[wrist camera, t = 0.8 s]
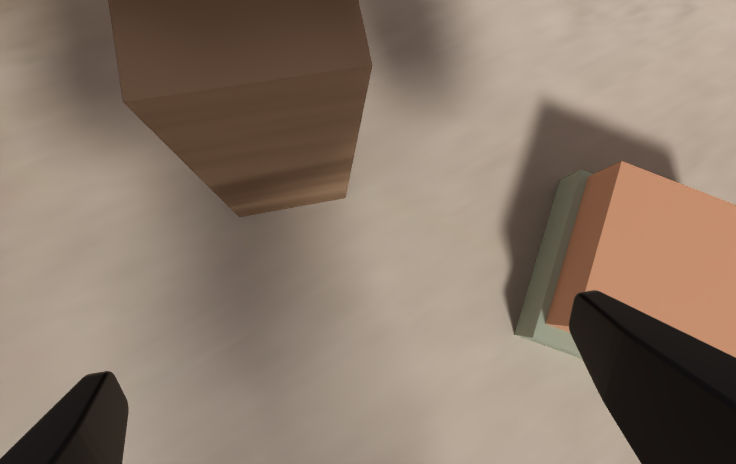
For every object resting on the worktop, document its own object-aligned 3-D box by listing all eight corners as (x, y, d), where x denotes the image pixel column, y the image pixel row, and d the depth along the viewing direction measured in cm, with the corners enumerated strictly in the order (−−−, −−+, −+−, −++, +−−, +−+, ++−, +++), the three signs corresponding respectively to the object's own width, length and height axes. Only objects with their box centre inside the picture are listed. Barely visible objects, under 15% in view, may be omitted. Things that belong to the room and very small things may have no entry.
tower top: (692, 378, 21) (741, 388, 19) (545, 323, 21) (575, 326, 18) (727, 230, 22) (778, 221, 20) (588, 176, 22) (621, 161, 19)
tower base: (662, 389, 23) (702, 399, 21) (510, 333, 23) (532, 337, 21) (699, 236, 25) (740, 229, 22) (555, 182, 24) (581, 168, 22)
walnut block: (345, 197, 23) (372, 65, 10) (239, 216, 22) (123, 101, 9) (325, 99, 23) (327, -147, 11) (221, 115, 23) (90, -123, 10)
